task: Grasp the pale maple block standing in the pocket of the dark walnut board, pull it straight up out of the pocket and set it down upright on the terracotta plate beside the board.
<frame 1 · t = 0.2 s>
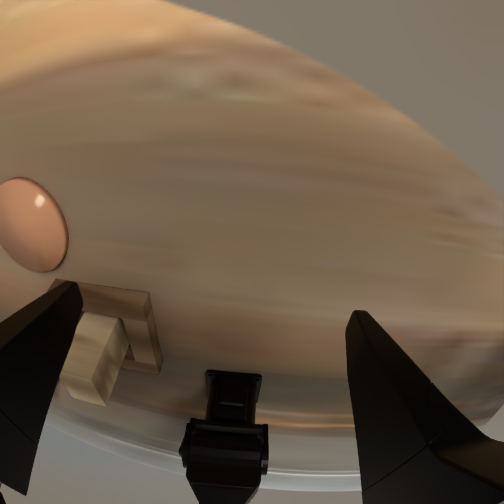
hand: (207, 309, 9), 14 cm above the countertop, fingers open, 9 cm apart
maple block: (96, 354, 28), in the pocket board
terracotta plate: (29, 224, 25), on the countertop
pocket board: (110, 323, 32), on the countertop
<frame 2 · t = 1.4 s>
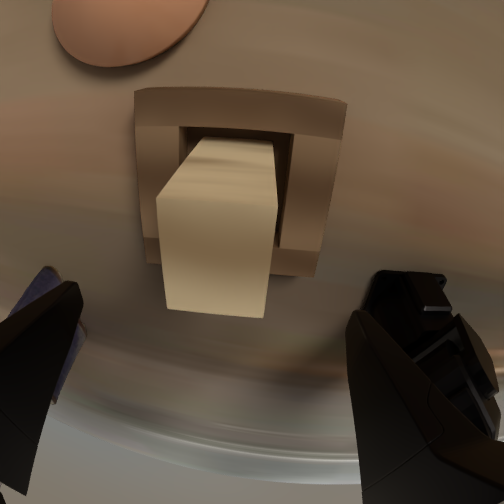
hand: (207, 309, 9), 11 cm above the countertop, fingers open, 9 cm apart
maple block: (227, 209, 15), in the pocket board
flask: (65, 302, 26), on the countertop
pocket board: (235, 177, 19), on the countertop
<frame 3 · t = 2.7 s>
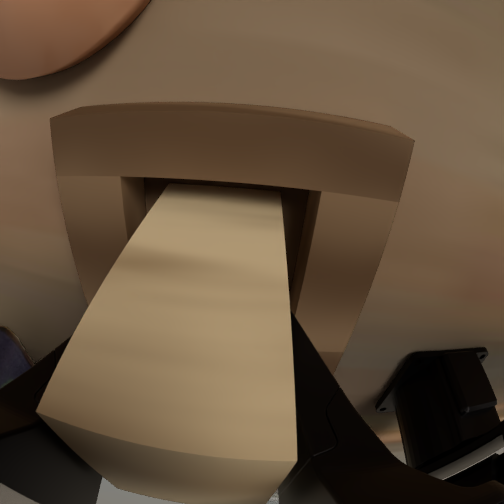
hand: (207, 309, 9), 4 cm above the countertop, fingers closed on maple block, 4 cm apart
maple block: (202, 332, 9), in the pocket board, touching gripper
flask: (29, 362, 20), on the countertop
pocket board: (221, 246, 12), on the countertop
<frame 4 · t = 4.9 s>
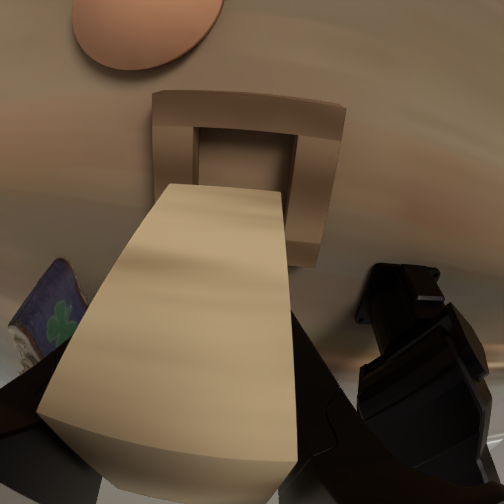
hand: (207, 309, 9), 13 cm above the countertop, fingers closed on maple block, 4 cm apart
maple block: (203, 332, 9), point 14 cm above the countertop, touching gripper
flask: (75, 293, 28), on the countertop
pocket board: (243, 174, 21), on the countertop
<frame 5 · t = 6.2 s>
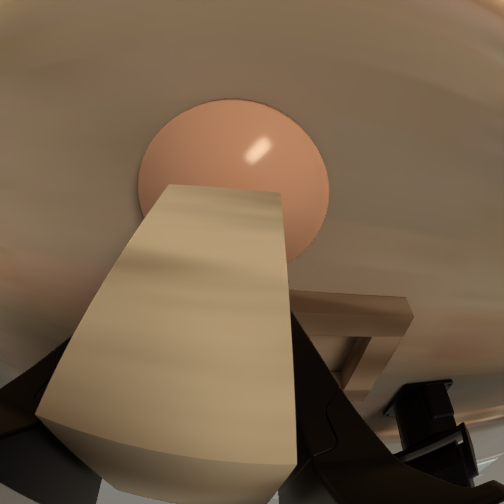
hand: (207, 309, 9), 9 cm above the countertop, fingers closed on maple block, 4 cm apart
maple block: (202, 333, 9), point 10 cm above the countertop, touching gripper
terracotta plate: (232, 191, 17), on the countertop
pocket board: (316, 346, 24), on the countertop
when the fingers open (5 cm above the countertop, at t = 7.0 s): maple block stays where it is, resting on terracotta plate.
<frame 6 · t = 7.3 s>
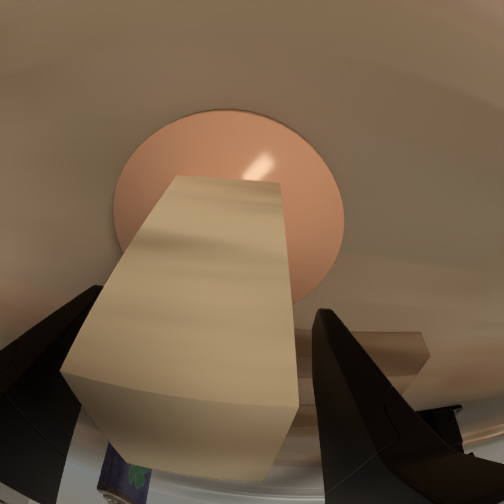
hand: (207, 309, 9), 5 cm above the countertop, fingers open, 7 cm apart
maple block: (209, 310, 10), on the terracotta plate, point 6 cm above the countertop
terracotta plate: (226, 221, 14), on the countertop
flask: (138, 426, 28), on the countertop
pocket board: (321, 382, 21), on the countertop
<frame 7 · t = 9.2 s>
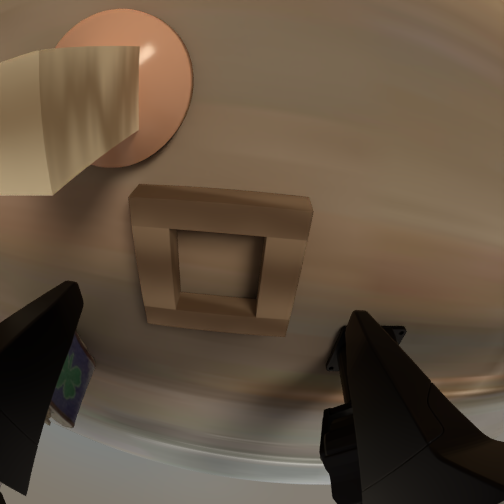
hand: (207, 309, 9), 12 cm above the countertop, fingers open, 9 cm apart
maple block: (66, 104, 11), on the terracotta plate, point 6 cm above the countertop
terracotta plate: (113, 87, 16), on the countertop
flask: (75, 339, 30), on the countertop
pocket board: (219, 259, 23), on the countertop
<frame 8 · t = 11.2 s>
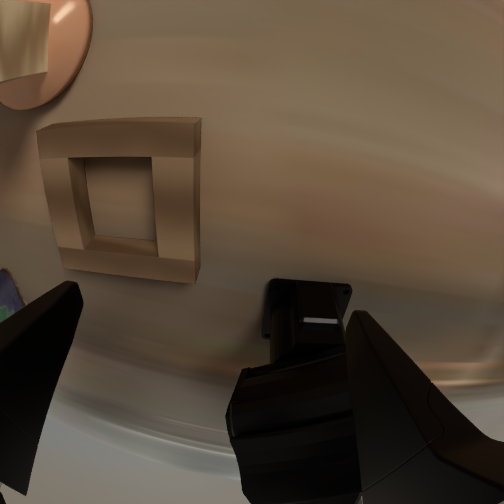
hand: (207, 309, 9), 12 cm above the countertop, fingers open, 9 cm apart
terracotta plate: (35, 42, 14), on the countertop
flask: (20, 299, 28), on the countertop
pocket board: (123, 195, 21), on the countertop
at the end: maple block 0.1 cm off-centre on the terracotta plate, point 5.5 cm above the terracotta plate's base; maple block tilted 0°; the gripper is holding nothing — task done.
